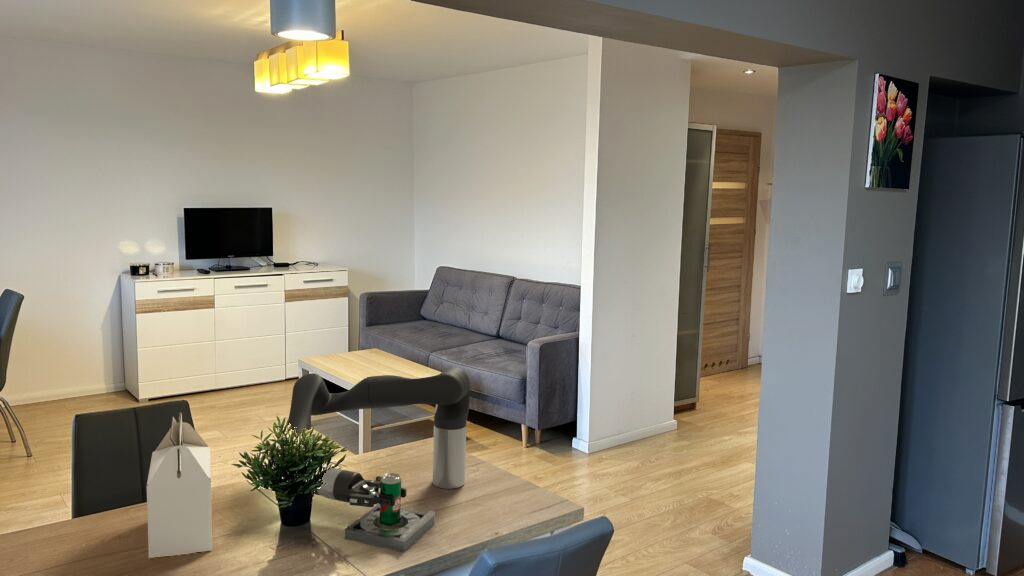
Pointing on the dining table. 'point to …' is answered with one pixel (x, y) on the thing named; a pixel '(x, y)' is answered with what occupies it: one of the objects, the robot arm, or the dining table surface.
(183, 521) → the gable box
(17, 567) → the dining table surface
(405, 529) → the jig
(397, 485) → the soda can
